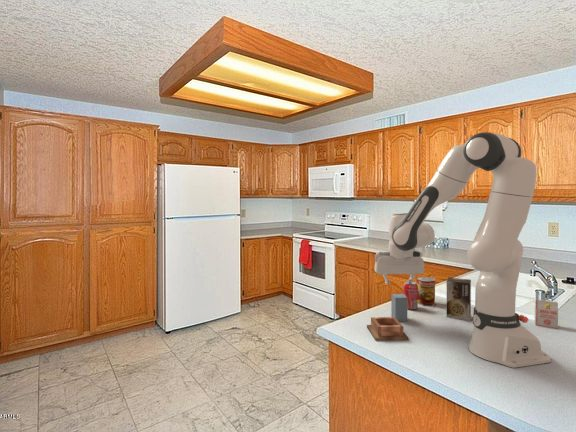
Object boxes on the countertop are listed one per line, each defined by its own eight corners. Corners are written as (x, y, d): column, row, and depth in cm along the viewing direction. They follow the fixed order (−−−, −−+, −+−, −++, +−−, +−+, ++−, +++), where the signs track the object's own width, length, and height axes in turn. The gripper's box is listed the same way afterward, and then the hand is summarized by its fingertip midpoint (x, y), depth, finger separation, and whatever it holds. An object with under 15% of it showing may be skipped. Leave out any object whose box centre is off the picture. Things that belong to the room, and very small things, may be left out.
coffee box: (471, 316, 138) (471, 279, 138) (470, 321, 133) (470, 282, 132) (447, 312, 143) (448, 276, 142) (445, 317, 138) (446, 280, 137)
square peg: (402, 316, 139) (403, 293, 139) (407, 321, 134) (407, 297, 134) (391, 316, 139) (391, 294, 139) (395, 321, 134) (395, 297, 134)
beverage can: (405, 304, 154) (406, 280, 154) (419, 307, 150) (419, 282, 150) (401, 308, 150) (401, 282, 149) (415, 311, 146) (415, 285, 145)
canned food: (419, 305, 153) (419, 280, 152) (415, 300, 161) (415, 276, 160) (436, 306, 152) (437, 281, 151) (432, 301, 159) (432, 277, 159)
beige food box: (534, 322, 131) (535, 298, 130) (555, 325, 128) (556, 301, 127) (535, 325, 128) (536, 300, 127) (557, 329, 124) (558, 303, 124)
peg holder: (396, 326, 129) (396, 315, 128) (408, 339, 117) (408, 327, 116) (366, 327, 129) (366, 316, 128) (375, 340, 117) (375, 328, 116)
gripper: (377, 253, 132) (376, 286, 133) (426, 253, 132) (425, 286, 133) (372, 250, 138) (372, 281, 139) (419, 250, 139) (418, 281, 140)
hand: (398, 283), depth 136 cm, fingers open, 8 cm apart
